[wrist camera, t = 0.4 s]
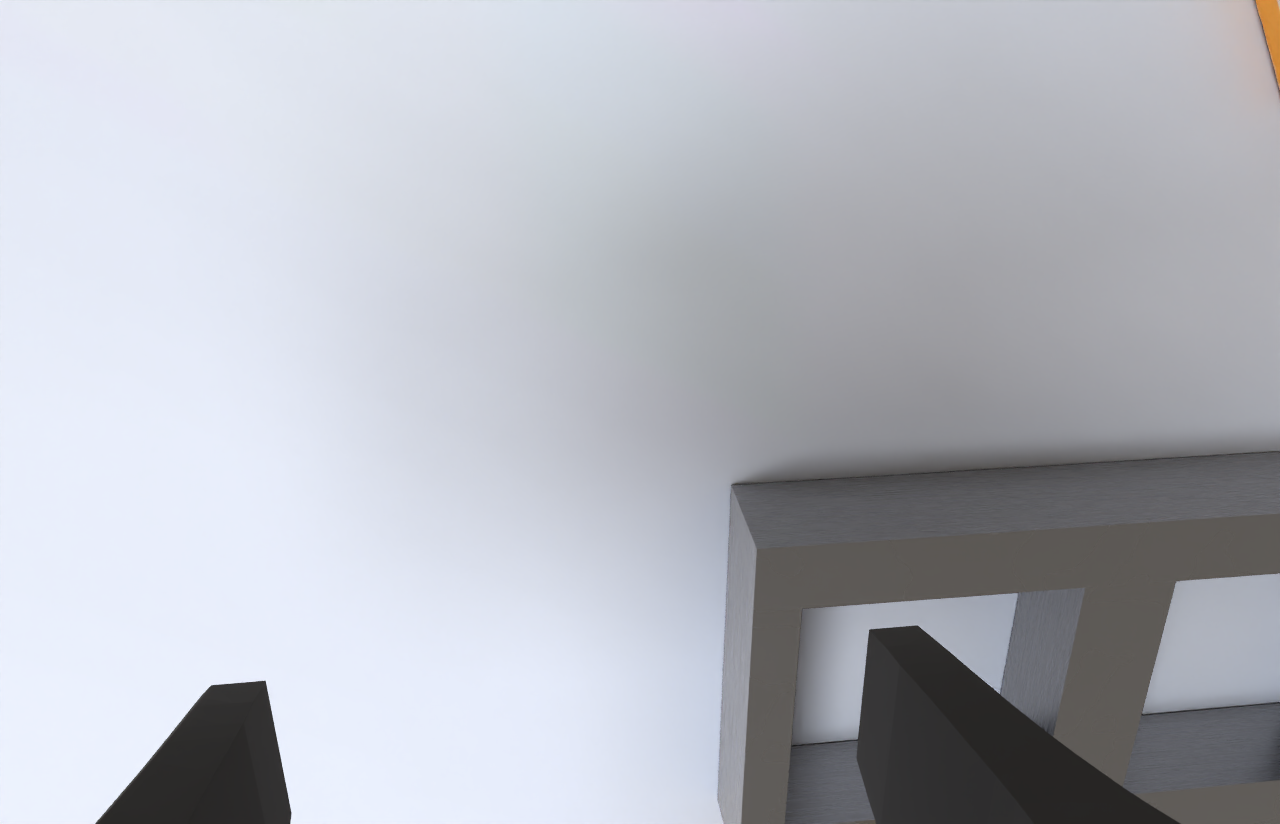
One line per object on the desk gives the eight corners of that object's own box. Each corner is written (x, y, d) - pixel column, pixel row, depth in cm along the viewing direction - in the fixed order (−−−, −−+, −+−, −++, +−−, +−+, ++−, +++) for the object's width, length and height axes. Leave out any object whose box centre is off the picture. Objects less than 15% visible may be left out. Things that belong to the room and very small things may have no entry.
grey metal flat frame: (1309, 743, 29) (1377, 814, 27) (717, 798, 27) (737, 880, 25) (1414, 443, 25) (1504, 498, 23) (731, 485, 23) (756, 548, 21)
